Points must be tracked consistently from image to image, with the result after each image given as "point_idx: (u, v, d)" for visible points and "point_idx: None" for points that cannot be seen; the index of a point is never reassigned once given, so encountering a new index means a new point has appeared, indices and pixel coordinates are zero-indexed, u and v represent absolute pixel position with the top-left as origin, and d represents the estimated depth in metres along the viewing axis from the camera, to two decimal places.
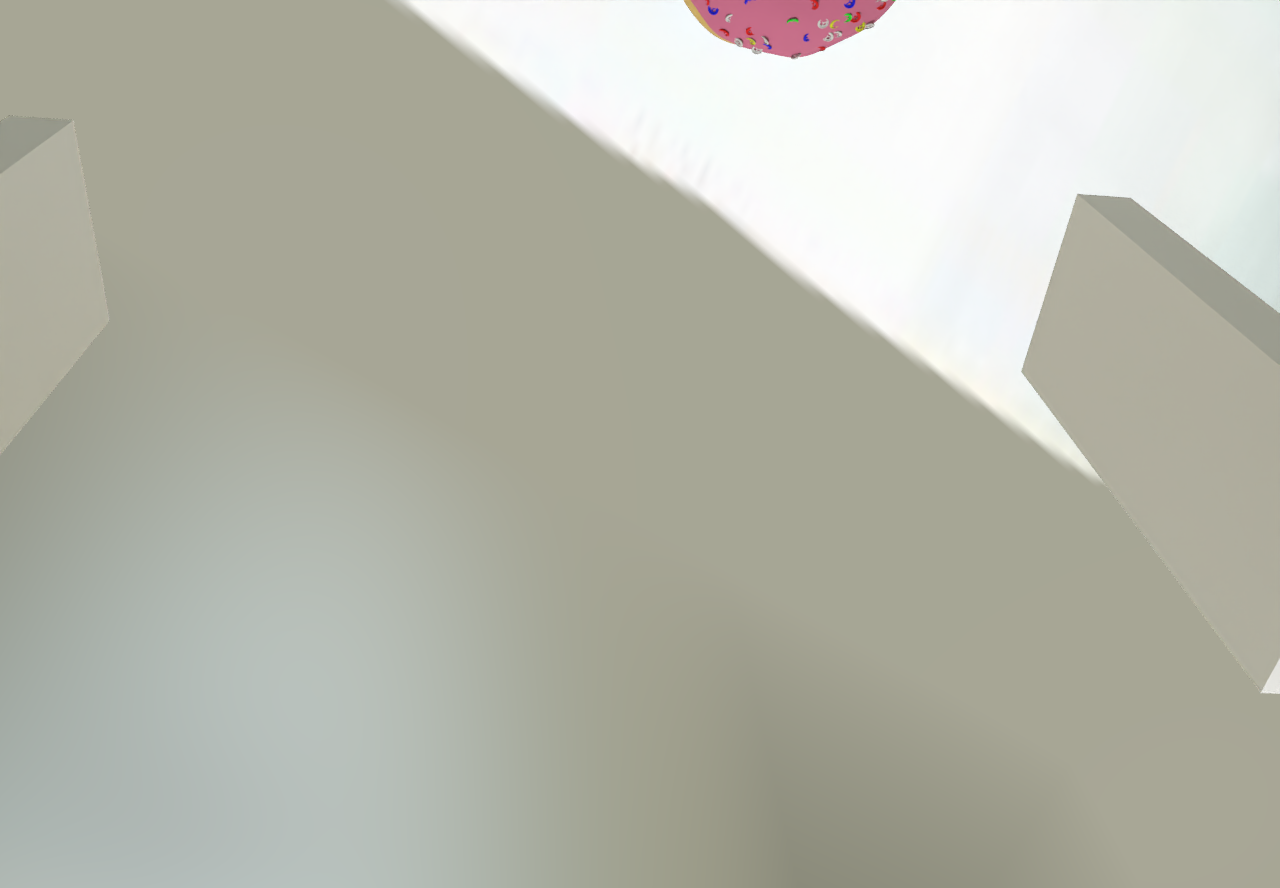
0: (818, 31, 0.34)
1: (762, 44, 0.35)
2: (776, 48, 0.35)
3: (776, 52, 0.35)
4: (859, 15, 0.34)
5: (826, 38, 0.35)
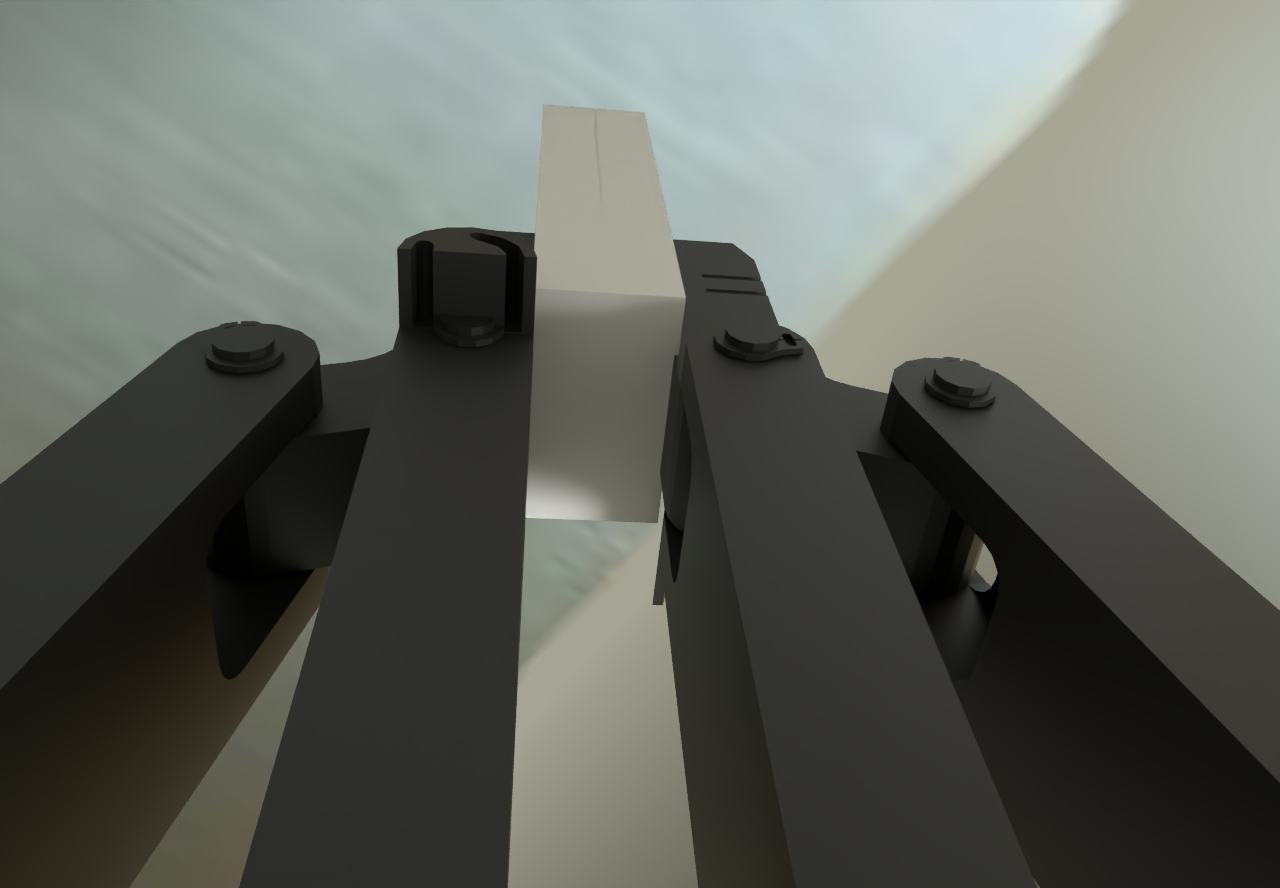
0: None
1: None
2: None
3: None
4: None
5: None
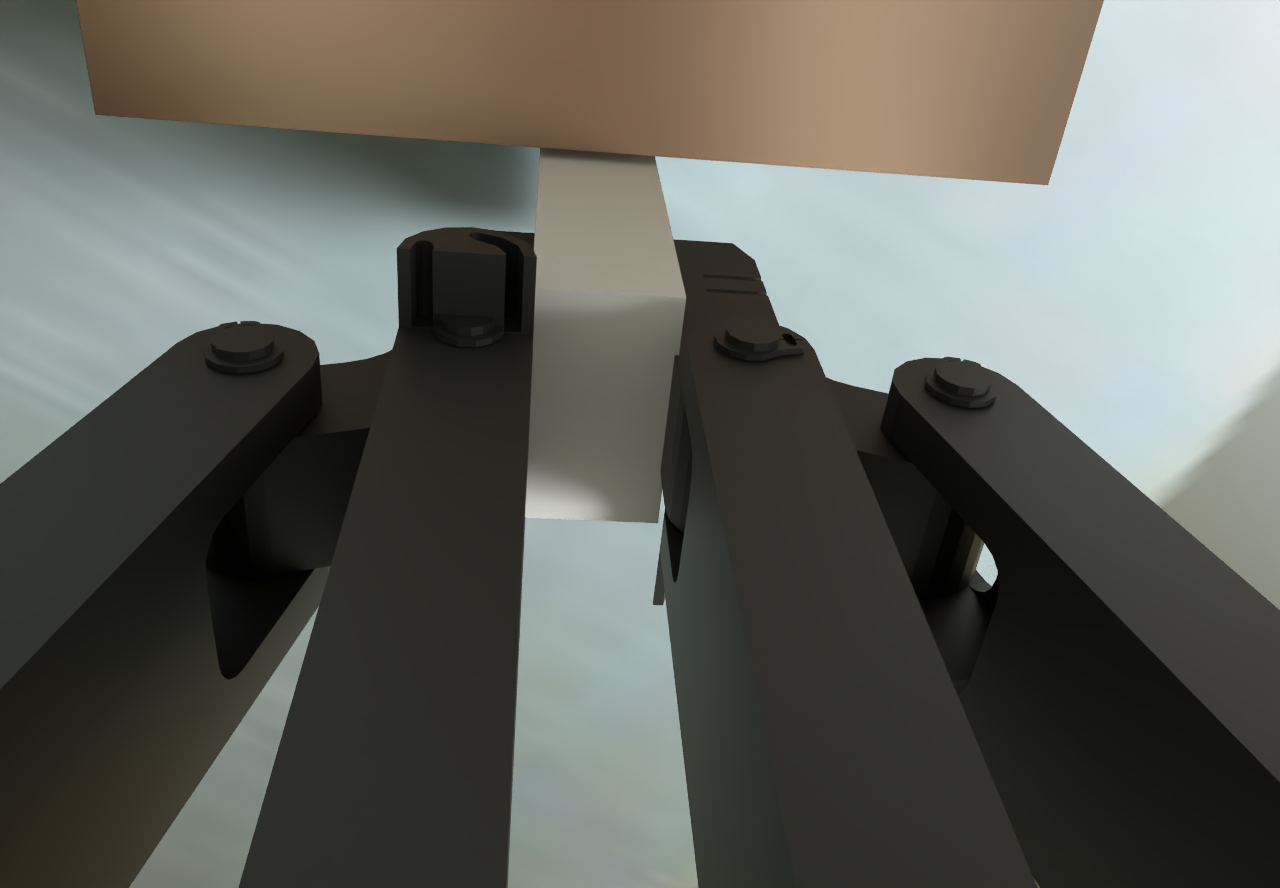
0: None
1: None
2: None
3: None
4: None
5: None
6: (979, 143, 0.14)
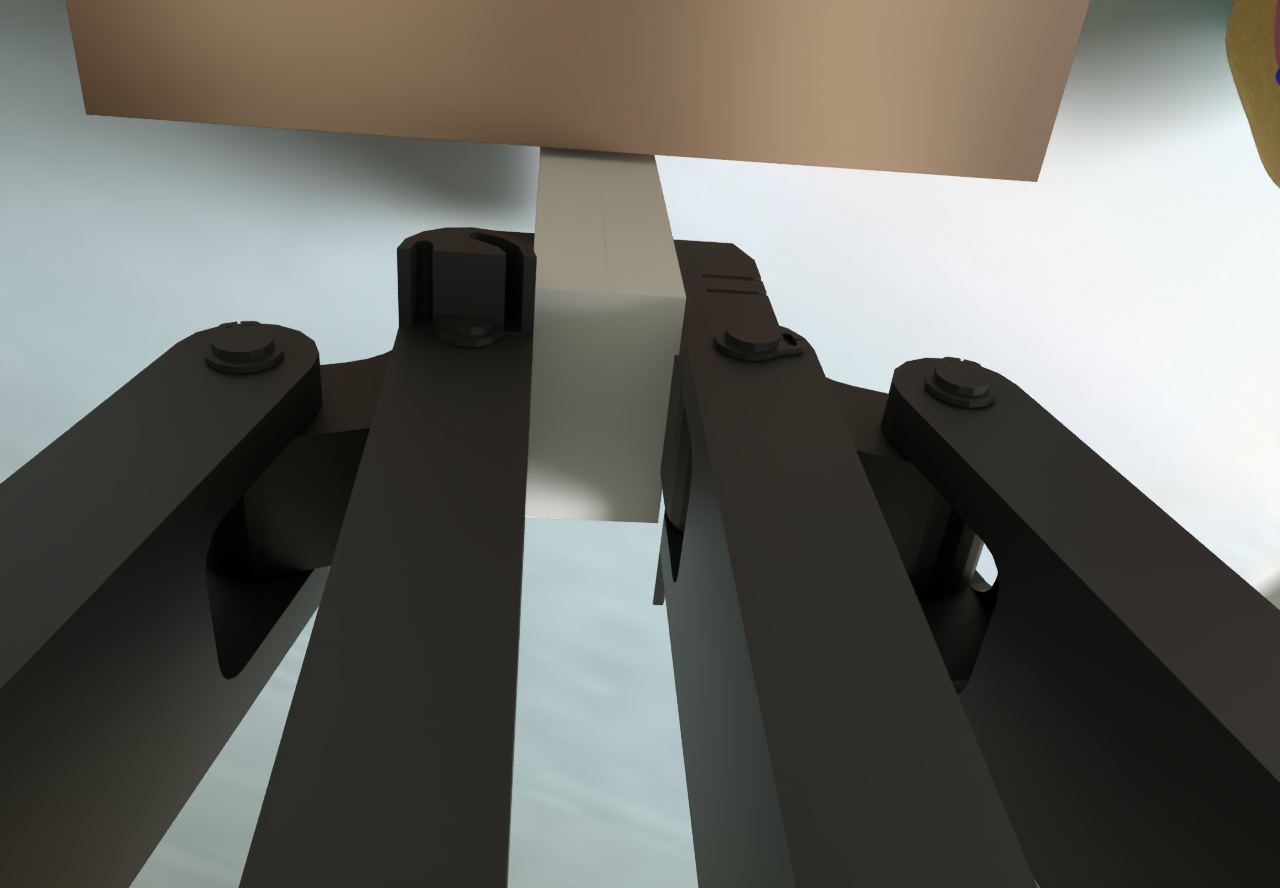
0: None
1: None
2: None
3: None
4: None
5: None
6: (968, 140, 0.14)
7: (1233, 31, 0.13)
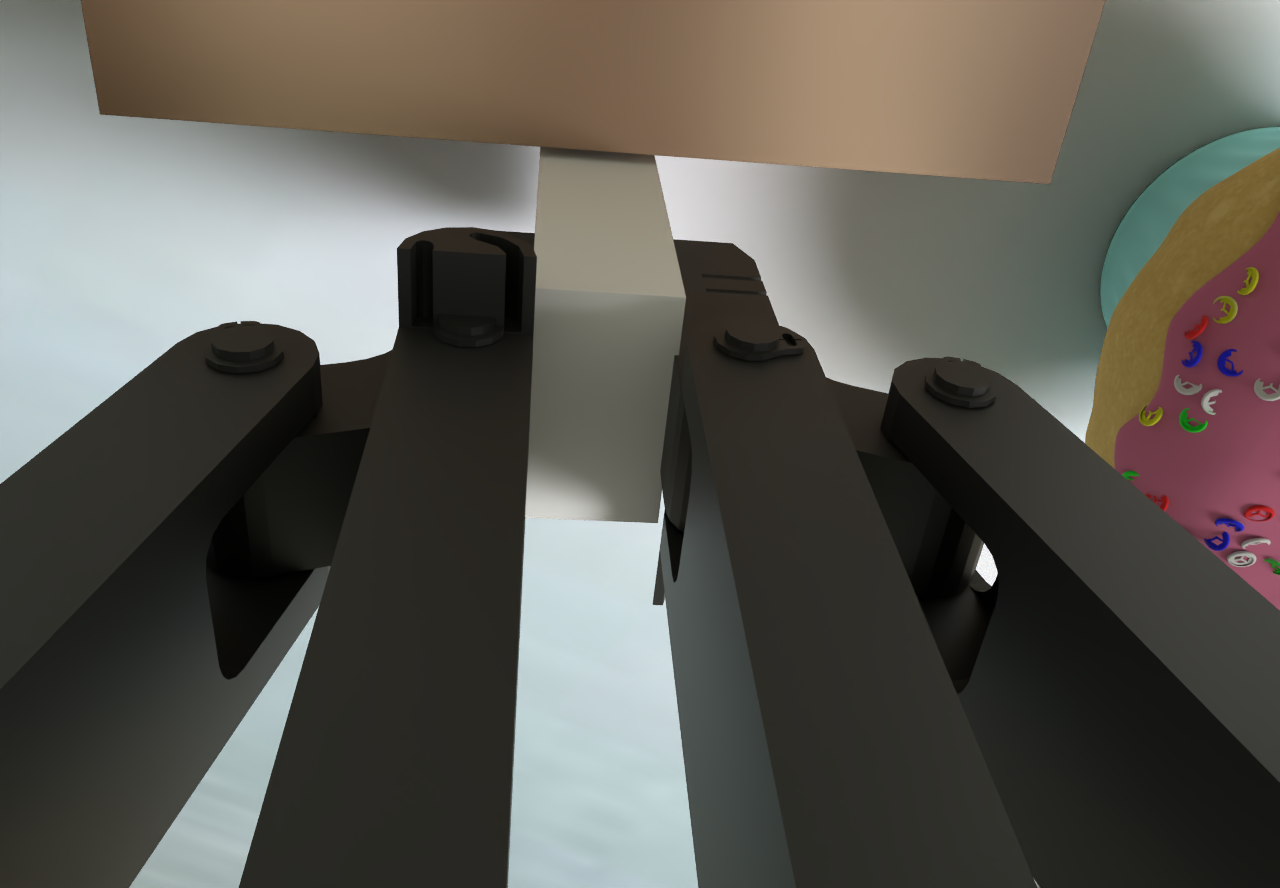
0: None
1: None
2: None
3: None
4: None
5: None
6: (981, 142, 0.14)
7: (1089, 443, 0.17)
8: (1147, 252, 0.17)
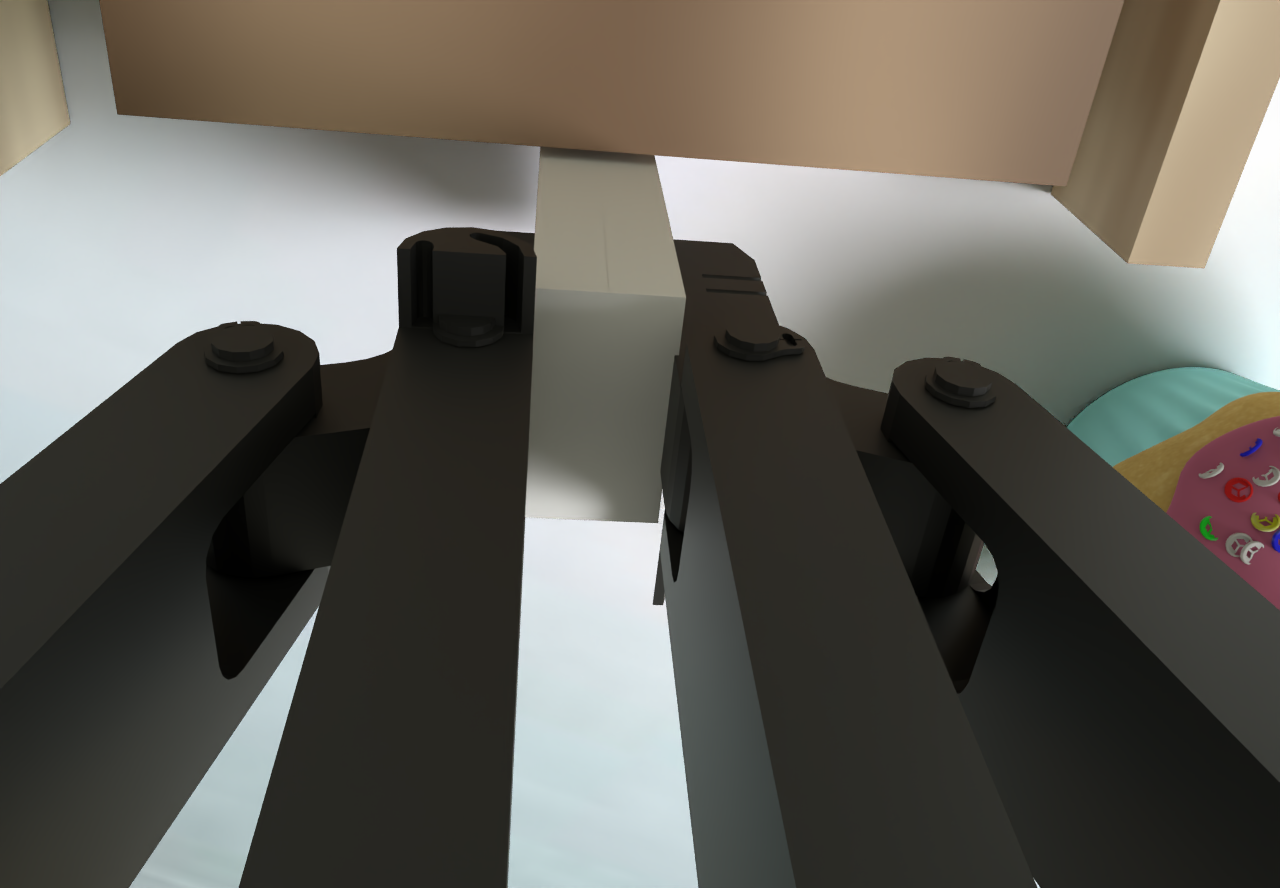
0: None
1: None
2: None
3: None
4: None
5: None
6: (998, 144, 0.14)
7: None
8: None
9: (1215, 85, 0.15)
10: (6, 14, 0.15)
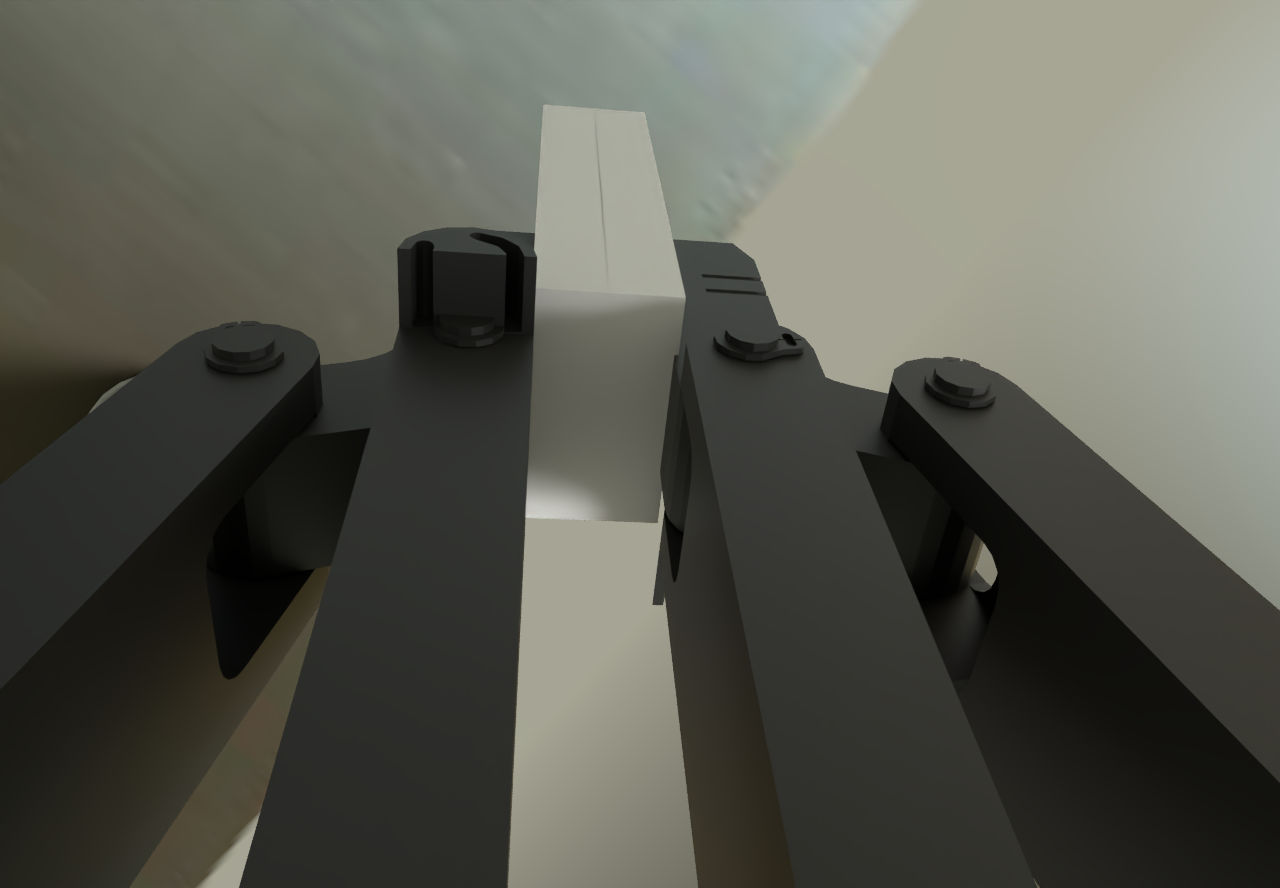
0: None
1: None
2: None
3: None
4: None
5: None
6: None
7: None
8: None
9: None
10: None
